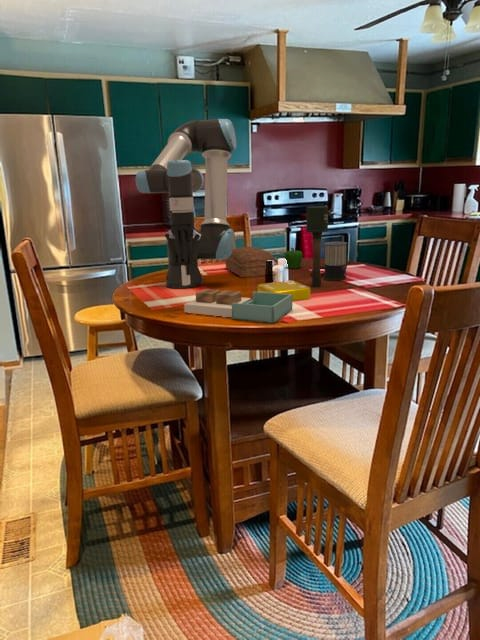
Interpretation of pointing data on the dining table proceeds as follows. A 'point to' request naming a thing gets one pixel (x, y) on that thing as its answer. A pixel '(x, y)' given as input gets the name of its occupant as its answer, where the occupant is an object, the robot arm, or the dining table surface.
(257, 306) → the tray
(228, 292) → the front tile
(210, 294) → the rear tile
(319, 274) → the stick grenade
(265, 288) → the element tile
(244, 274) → the bread
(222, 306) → the board
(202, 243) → the robot arm
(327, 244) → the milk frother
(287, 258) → the bell pepper
